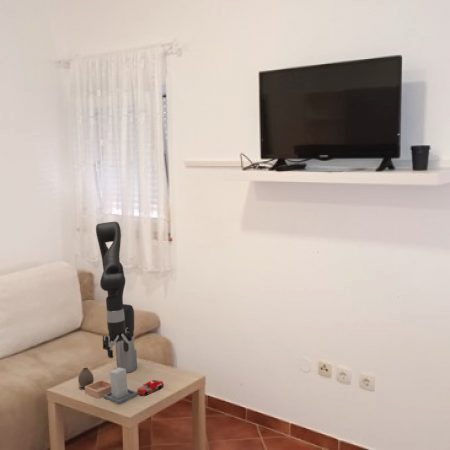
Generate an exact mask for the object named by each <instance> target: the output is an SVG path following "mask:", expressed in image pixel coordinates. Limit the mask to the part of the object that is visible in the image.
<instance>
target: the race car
mask: <svg viewBox="0 0 450 450" xmlns="http://www.w3.org/2000/svg"><path fill="white" fill-rule="evenodd" d="M163 387H164V382H163V381H162V380H160V379H151V380H149V381H147V382H145V383H144V384H143V385H142V386H140V387H139V388H138V389H137V391H136V392H137V395H140V396H148V394H149V395H150V394H152V393H154V392H156V391H160V390H161V389H162V388H163Z"/></svg>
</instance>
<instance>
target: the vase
mask: <svg viewBox="0 0 450 450" xmlns="http://www.w3.org/2000/svg"><path fill="white" fill-rule="evenodd" d="M77 380H78V384H79V386H80V387H81V388H82V389H85V386H87V385H90V384H92V383H94V381H95V379H94V374H93V372H92V371H91V370H90V369H89V368H88V367H83V368H82V370H81V371H80V372H79V375H78V379H77Z"/></svg>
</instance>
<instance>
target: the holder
mask: <svg viewBox="0 0 450 450" xmlns="http://www.w3.org/2000/svg"><path fill="white" fill-rule="evenodd" d="M101 387H102V388H101ZM99 388H101V389H99ZM97 389H98V390H97ZM109 392H112V390H111V382H109V381H106V380H104V379H100V380H99V379H98V380H97V381H95V382H94V381H93V383H92V384H90V385H87V386H85V388H84V393H85V394H87V395H88V396H89V395H90V396H92V397H94V398H96V399H99V398H101V397H104V395H105V394H107V393H109Z"/></svg>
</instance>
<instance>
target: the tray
mask: <svg viewBox="0 0 450 450" xmlns="http://www.w3.org/2000/svg"><path fill="white" fill-rule="evenodd" d="M127 389H128V388H127ZM136 397H138V393H137V391H135V390H132V389H128V394H127V395H125V396H124V397H122V398H120V399H115V398H112V392H109V393H107V394H105V395H104V396H103V399H105V400H107V401H109V402H112V403H114V404H117V405H121V404H123V403H125V402H128V401H129V400H131V399H134V398H136Z"/></svg>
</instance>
